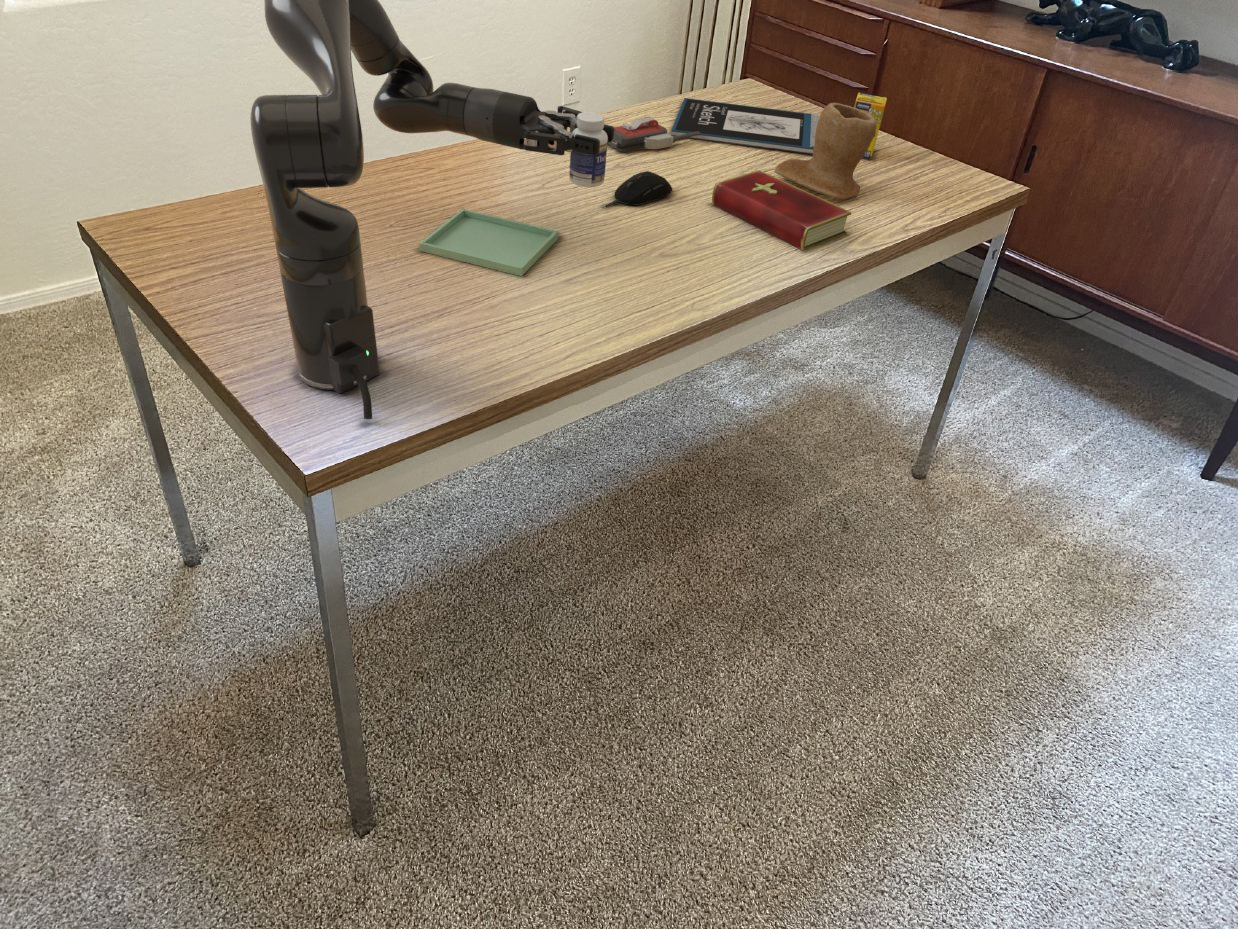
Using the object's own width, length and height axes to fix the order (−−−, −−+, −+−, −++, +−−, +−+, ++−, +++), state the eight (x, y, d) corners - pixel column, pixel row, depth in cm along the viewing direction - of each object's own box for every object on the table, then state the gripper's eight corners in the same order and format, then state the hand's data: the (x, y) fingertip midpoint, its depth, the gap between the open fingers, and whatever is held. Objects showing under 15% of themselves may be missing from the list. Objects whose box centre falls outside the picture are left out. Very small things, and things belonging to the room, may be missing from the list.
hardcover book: (801, 251, 148) (807, 227, 145) (710, 205, 159) (714, 182, 157) (846, 233, 154) (852, 210, 152) (755, 190, 166) (759, 168, 163)
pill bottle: (600, 190, 134) (605, 125, 128) (565, 185, 134) (568, 119, 128) (607, 177, 138) (612, 113, 132) (573, 171, 139) (577, 107, 132)
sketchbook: (683, 103, 201) (684, 94, 199) (817, 122, 198) (819, 112, 197) (670, 136, 184) (671, 125, 183) (816, 156, 182) (819, 146, 180)
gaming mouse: (594, 200, 157) (595, 178, 154) (654, 182, 165) (656, 161, 163) (618, 213, 154) (620, 191, 151) (678, 194, 162) (681, 172, 159)
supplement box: (841, 155, 183) (855, 100, 176) (844, 145, 188) (857, 91, 181) (871, 160, 182) (885, 105, 175) (873, 150, 187) (887, 96, 180)
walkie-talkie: (624, 158, 173) (702, 141, 183) (626, 135, 170) (705, 120, 180) (597, 143, 178) (674, 127, 188) (599, 120, 175) (677, 106, 185)
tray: (558, 238, 145) (558, 230, 144) (521, 276, 134) (521, 268, 133) (462, 215, 148) (462, 208, 148) (419, 250, 138) (419, 242, 137)
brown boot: (872, 193, 169) (894, 112, 159) (835, 208, 162) (856, 125, 153) (808, 167, 177) (825, 88, 167) (770, 180, 170) (786, 99, 160)
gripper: (479, 106, 127) (590, 130, 124) (521, 79, 138) (624, 100, 134) (480, 158, 132) (587, 182, 129) (520, 128, 143) (620, 150, 139)
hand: (605, 140), depth 131 cm, fingers closed on pill bottle, 5 cm apart
